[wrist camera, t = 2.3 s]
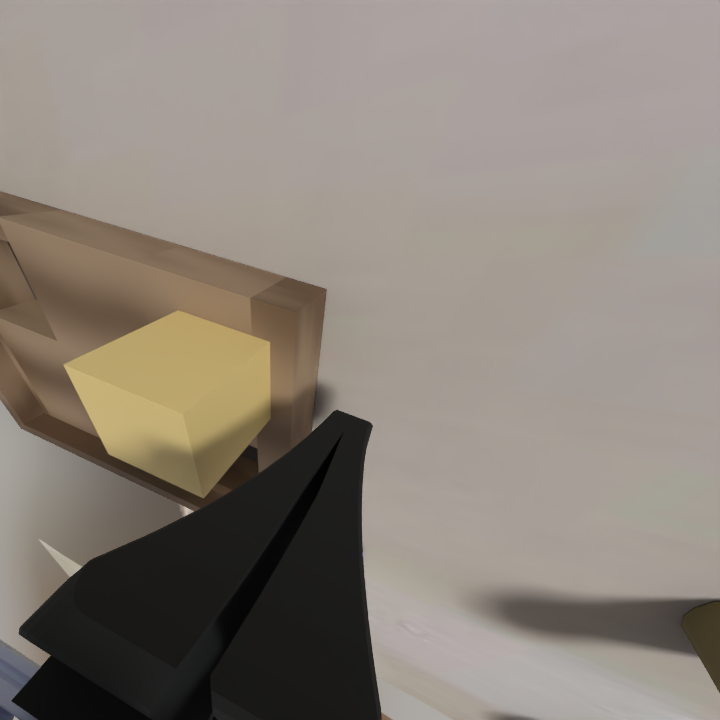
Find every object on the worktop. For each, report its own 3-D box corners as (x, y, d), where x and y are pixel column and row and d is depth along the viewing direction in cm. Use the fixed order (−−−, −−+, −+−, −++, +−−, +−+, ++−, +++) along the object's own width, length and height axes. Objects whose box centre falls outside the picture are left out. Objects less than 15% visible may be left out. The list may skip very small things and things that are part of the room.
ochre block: (270, 418, 13) (203, 498, 10) (194, 388, 14) (108, 454, 11) (269, 341, 11) (183, 414, 8) (177, 310, 12) (63, 364, 8)
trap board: (304, 495, 20) (275, 549, 17) (76, 396, 24) (21, 428, 21) (328, 269, 11) (277, 303, 8) (-43, 162, 15) (-170, 161, 12)
